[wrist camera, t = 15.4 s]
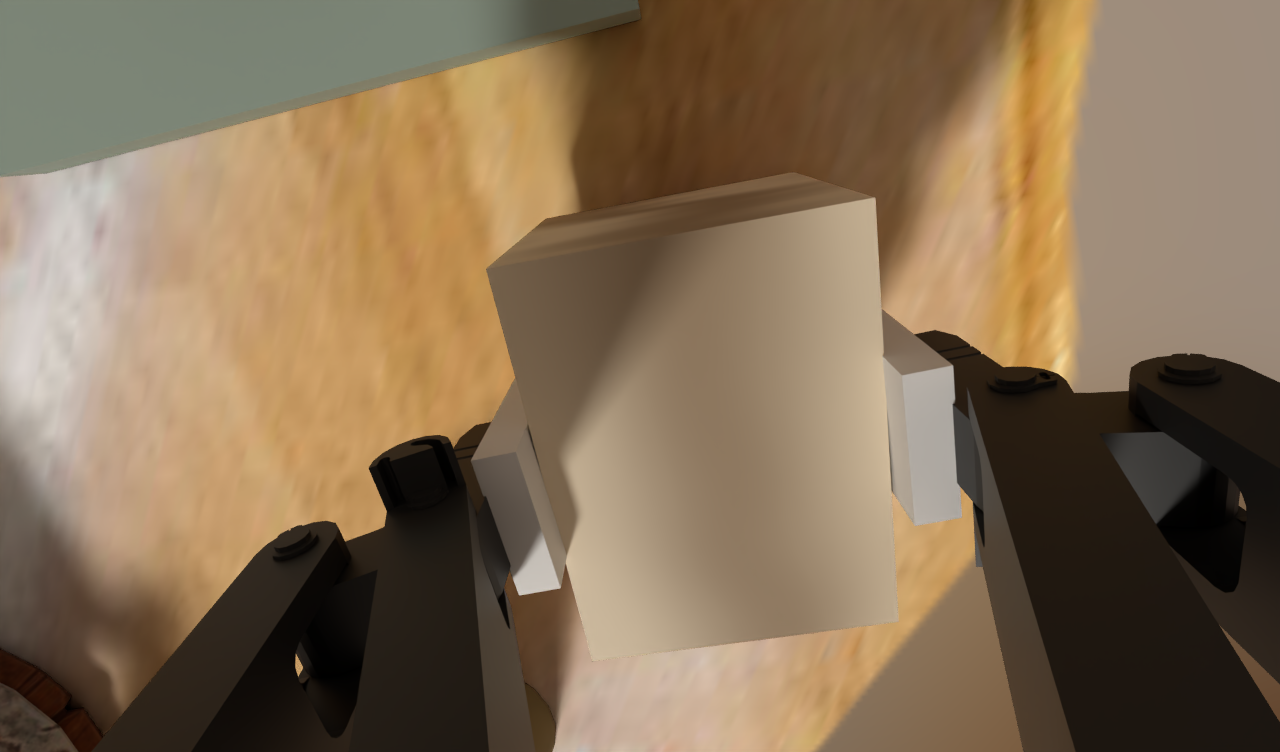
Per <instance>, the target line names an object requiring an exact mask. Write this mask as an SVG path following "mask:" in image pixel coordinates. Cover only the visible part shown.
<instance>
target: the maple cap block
mask: <svg viewBox="0 0 1280 752" xmlns="http://www.w3.org/2000/svg"><path fill="white" fill-rule="evenodd" d="M486 270H487V274H488V278H489V281H490V285H491V289H492V292H493V296H494V300H495V304H496V307H497V311H498V315H499V318H500V322H501V326H502V329H503V333H504V337H505V340H506V344H507V348H508V352H509V355H510V359H511V363H512V366H513V370H514V374H515V377H516V381H517V385H518V389H519V392H520V396H521V400H522V403H523V407H524V411H525V414H526V418H527V422H528V425H529V429H530V433H531V437H532V440H533V444H534V448H535V451H536V455H537V459H538V462H539V466H540V470H541V474H542V477H543V481H544V485H545V488H546V491H547V494H548V497H549V501H550V504H551V507H552V510H553V513H554V516H555V519H556V523H557V526H558V529H559V532H560V535H561V538H562V542H563V545H564V548H565V551H566V554H567V559H566V566H567V570H568V573H569V577H570V581H571V584H572V588H573V592H574V596H575V599H576V603H577V607H578V610H579V614H580V618H581V621H582V625H583V629H584V632H585V636H586V640H587V644H588V647H589V651H590V655H591V658H592V662H593V661H600V660H608V659H616V658H624V657H631V656H639V655H647V654H654V653H662V652H670V651H678V650H685V649H693V648H701V647H708V646H716V645H724V644H732V643H739V642H747V641H755V640H763V639H770V638H778V637H786V636H793V635H801V634H809V633H817V632H824V631H832V630H840V629H847V628H855V627H863V626H871V625H878V624H886V623H894V622H899V620H898V602H897V583H896V565H895V547H894V528H893V510H892V492H891V474H890V455H889V437H888V419H887V400H886V390H885V380H884V369H883V359H882V356H884V345H883V327H882V309H881V291H880V272H879V254H878V236H877V217H876V199H875V197H872V196H869V195H866V194H863V193H860V192H856V191H853V190H850V189H847V188H844V187H840V186H837V185H834V184H831V183H827V182H824V181H821V180H818V179H815V178H811V177H808V176H805V175H802V174H799V173H795V172H791V173H786V174H780V175H775V176H770V177H765V178H759V179H754V180H749V181H743V182H738V183H733V184H727V185H722V186H717V187H712V188H706V189H701V190H696V191H690V192H685V193H680V194H674V195H669V196H664V197H658V198H653V199H648V200H643V201H637V202H632V203H627V204H621V205H616V206H611V207H605V208H600V209H595V210H590V211H584V212H579V213H574V214H568V215H563V216H558V217H552V218H547V219H545V220H544V221H543V222H541V223H540V224H539V225H538V226H537V227H535V228H534V229H533V230H532V231H531V232H529V233H528V234H527V235H526V236H525V237H523V238H522V239H521V240H520V241H519V242H518V243H516V244H515V245H514V246H513V247H512V248H510V249H509V250H508V251H507V252H506V253H504V254H503V255H502V256H501V257H500V258H498V259H497V260H496V261H495V262H494V263H493V264H491V265H490V266H489V267H488V268H487V269H486Z"/></svg>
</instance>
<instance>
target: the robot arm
mask: <svg viewBox="0 0 1280 752" xmlns="http://www.w3.org/2000/svg"><path fill="white" fill-rule="evenodd" d="M882 327H883V345H884V356H882V359H883V369H884V380H885V390H886V400H887V419H888V437H889V455H890V474H891V490H892V492H893V493H894V495H895V496H896V498H897V499H898V501H899V502H900V504H901V505H902V507H903V508H904V510H905V511H906V513H907V515H908V516H909V518H910V519H911V521H912V522H913V524H914V525H915V526H917V525H923V524H929V523H934V522H940V521H946V520H951V519H957V518H962V512H961V495H960V487H961V488H962V489H963V490H964V492H965V493H966V494H967V495H968V496H969V497H970V499H971V500H972V501H973V514H974V534H975V555H976V567H983V570H984V574H985V579H986V583H987V588H988V592H989V597H990V601H991V606H992V610H993V615H994V620H995V624H996V629H997V633H998V638H999V642H1000V647H1001V652H1002V656H1003V661H1004V665H1005V670H1006V674H1007V679H1008V683H1009V688H1010V692H1011V696H1012V701H1013V706H1014V710H1015V715H1016V720H1017V724H1018V728H1019V733H1020V738H1021V742H1022V747H1023V751H1024V752H1280V722H1279V720H1278V719H1277V717H1276V715H1275V714H1274V713H1273V711H1272V709H1271V707H1270V706H1269V704H1268V703H1267V701H1266V700H1265V698H1264V696H1263V695H1262V693H1261V692H1260V690H1259V688H1258V687H1257V685H1256V684H1255V682H1254V680H1253V679H1252V677H1251V675H1250V674H1249V672H1248V671H1247V669H1246V667H1245V666H1244V664H1243V663H1242V661H1241V660H1240V658H1239V656H1238V655H1237V653H1236V652H1235V650H1234V648H1233V647H1232V645H1231V644H1230V642H1229V640H1228V639H1227V637H1226V636H1225V634H1224V632H1223V631H1222V629H1221V627H1222V628H1223V629H1224V630H1225V631H1226V632H1227V633H1228V634H1229V635H1230V636H1231V637H1232V638H1233V639H1234V640H1235V641H1236V642H1237V643H1238V644H1239V645H1240V646H1241V647H1242V648H1243V649H1245V650H1246V651H1247V653H1249V654H1250V655H1251V656H1252V657H1253V658H1254V659H1255V660H1256V661H1257V662H1258V663H1259V664H1260V665H1261V666H1262V667H1263V668H1264V669H1265V670H1266V671H1267V672H1268V673H1269V674H1270V675H1271V676H1272V677H1273V678H1274V679H1275V680H1276V681H1277V682H1278V683H1279V684H1280V382H1277V381H1275V380H1273V379H1271V378H1269V377H1266V376H1264V375H1262V374H1260V373H1258V372H1256V371H1253V370H1251V369H1249V368H1247V367H1245V366H1242V365H1240V364H1236V363H1233V362H1230V361H1227V360H1224V359H1218V358H1211V357H1207V356H1205V355H1202V354H1190V355H1187V354H1173V355H1171V356H1165V357H1156V358H1152V359H1149V360H1145V361H1141V362H1139V363H1138V364H1136V365H1134V366H1133V367H1131V371H1130V379H1129V391H1121V392H1098V393H1074V392H1073V391H1072V389H1071V387H1070V386H1069V384H1068V383H1067V381H1066V380H1065V379H1064V378H1063V377H1061V376H1060V375H1059V374H1057V373H1054V372H1051V371H1048V370H1045V369H1040V368H1032V367H1002V366H1000V365H999V364H998V363H996V362H995V361H993V360H992V359H990V358H989V357H987V356H986V355H984V354H981V352H980V351H979V350H977V349H976V348H974V347H973V346H972V347H970V344H968V343H967V342H965V341H964V340H962V339H961V338H959V337H958V336H956V335H952V334H948V333H944V332H940V331H937V330H933V331H929V332H924V333H919V334H913V333H911V332H910V331H909V330H908V329H906V328H905V327H904V326H903V325H901V324H900V323H899V322H898V321H896V320H895V319H894V318H892V317H891V316H890V315H889V314H887V313H886V312H885V311H884V310H882ZM369 470H370V473H371V475H372V477H373V480H374V482H375V484H376V487H377V489H378V491H379V494H380V496H381V499H382V501H383V503H384V506H385V508H386V510H387V515H386V521H385V527H383V528H381V529H379V530H376V531H374V532H371V533H368V534H365V535H362V536H360V537H357V538H354V539H351V540H349V541H346V542H345V541H344V539H343V537H342V534H341V532H340V530H339V528H338V526H337V525H336V523H333V522H329V521H322V522H314V523H310V524H307V525H304V526H302V525H299V526H296V527H294V528H291V530H290V531H289V530H287V531H285V532H283V533H281V534H280V535H279V536H278V538H276V539H275V540H273V541H272V542H270V543H268V544H267V545H266V546H265V547H264V548H262V549H261V550H260V551H259V552H258V553H257V554H256V555H255V556H254V557H253V559H252V560H251V561H250V562H249V563H248V565H247V566H246V567H245V568H244V569H243V571H242V572H241V573H240V574H239V575H238V577H237V578H236V579H235V580H234V581H233V583H232V584H231V585H230V586H229V587H228V589H227V590H226V591H225V592H224V593H223V595H222V596H221V597H220V598H219V599H218V601H217V602H216V603H215V604H214V605H213V607H212V608H211V609H210V610H209V611H208V613H207V614H206V615H205V616H204V617H203V619H202V620H201V621H200V622H199V623H198V625H197V626H196V627H195V628H194V629H193V631H192V632H191V633H190V634H189V635H188V637H187V638H186V639H185V640H184V641H183V643H182V644H181V645H180V646H179V647H178V648H177V650H176V651H175V652H174V653H173V654H172V656H171V657H170V658H169V659H168V660H167V662H166V663H165V664H164V665H163V666H162V668H161V669H160V670H159V671H158V672H157V674H156V675H155V676H154V677H153V678H152V680H151V681H150V682H149V683H148V684H147V686H146V687H145V688H144V689H143V690H142V692H141V693H140V694H139V695H138V696H137V698H136V699H135V700H134V701H133V702H132V704H131V705H130V706H129V707H128V708H127V710H126V711H125V712H124V713H123V714H122V716H121V717H120V718H119V719H118V720H117V722H116V723H115V724H114V725H113V726H112V728H111V729H110V730H109V731H108V732H107V734H106V735H105V736H104V737H103V738H102V740H101V741H100V742H99V743H98V744H97V745H96V747H95V748H94V749H93V750H92V751H91V752H535V746H534V740H533V734H532V728H531V722H530V716H529V710H528V704H527V697H526V691H525V685H524V679H523V673H522V667H521V661H520V655H519V649H518V643H517V637H516V631H515V625H514V619H513V613H512V608H511V605H510V602H509V600H508V597H507V594H506V591H505V589H504V586H505V583H506V580H507V576H508V573H509V570H510V572H511V575H512V577H513V580H514V583H515V586H516V589H517V591H518V594H519V596H520V595H525V594H531V593H537V592H543V591H548V590H554V589H560V588H561V584H562V579H563V574H564V569H565V564H566V559H567V554H566V551H565V548H564V545H563V542H562V538H561V535H560V532H559V529H558V526H557V523H556V519H555V516H554V513H553V510H552V507H551V504H550V501H549V497H548V494H547V491H546V488H545V485H544V481H543V477H542V474H541V470H540V466H539V462H538V459H537V455H536V451H535V448H534V444H533V440H532V437H531V433H530V429H529V425H528V422H527V418H526V414H525V411H524V407H523V403H522V400H521V396H520V392H519V389H518V385H517V381H516V377H515V379H514V381H513V383H512V385H511V387H510V389H509V390H508V392H507V394H506V396H505V398H504V400H503V402H502V403H501V405H500V407H499V409H498V411H497V413H496V415H495V416H494V418H493V420H492V422H489V423H484V424H479V425H475V426H474V427H473V428H472V429H470V430H469V431H468V432H467V433H465V434H464V435H463V436H462V437H460V439H459V440H458V442H457V444H456V445H455V447H454V449H453V447H452V444H451V442H450V440H449V439H448V437H445V436H441V435H434V436H425V437H421V438H416V439H412V440H410V441H407V442H404V443H402V444H399V445H397V446H395V447H393V448H391V449H389V450H388V451H386V452H384V453H382V454H381V455H380V456H379V457H378V458H376V459H375V460H374V461H373V462H372V464H371V465H370V467H369ZM1240 492H1241V493H1242V495H1243V498H1244V501H1245V504H1246V511H1245V510H1244V509H1243V508H1241V507H1240V506H1238V505H1239V496H1240ZM1219 625H1220V626H1221V627H1220V626H1219ZM296 654H297V656H298V658H299V660H300V662H301V664H302V666H303V670H302V671H301V673H300V675H299V677H298V675H297V672H296V669H295V657H296Z"/></svg>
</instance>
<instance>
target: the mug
mask: <svg viewBox="0 0 1280 752" xmlns="http://www.w3.org/2000/svg"><path fill="white" fill-rule="evenodd" d="M70 698H71V694H70V693H68V692H67V691H66V690H65V689H64V688H62V687H61V686H60V685H59V684H58V683H56V682H55V681H54V680H53V679H52V678H50V677H49V676H48V675H47V674H46V673H44V672H43V671H42V670H41V669H39V668H37V667H35V666H33V665H31V664H29V663H28V662H26V661H24V660H22V659H20V658H18V657H16V656H14V655H12V654H10V653H8V652H6V651H4V650H2V649H0V752H91V751H92V750H93V749H94V748H95V747H96V745H97V744H98V743H99V742H100V741H101V740H102V738H103V736H102V734H101V733H100V731H99V730H98V728H97V727H96V726H95V724H94V723H93V721H92V720H91V718H90V717H89V715H88V714H87V712H86V711H85V710H84V708H78V709H73V710H68V711H67V710H66V709H65V708H64V707H65V706H66V704H67V703H68V701H69V700H70Z"/></svg>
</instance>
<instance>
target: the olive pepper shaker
mask: <svg viewBox="0 0 1280 752" xmlns="http://www.w3.org/2000/svg"><path fill="white" fill-rule="evenodd" d="M524 685H525V691H526V697H527V704H528V710H529V716H530V722H531V728H532V734H533V740H534V746H535V752H552V751H553V748H554V745H555V730H556V725H555V722H554V720H553V717H552V714H551V711H550V709H549V706H548V705H547V704H546V703H545V701H544V700H543V699H542V698H541V697H540V695H539V694H538V693H537V692H536V691H535V690H534V689H533V688H532V687H530V686H529V685H527V684H526V683H524Z"/></svg>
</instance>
